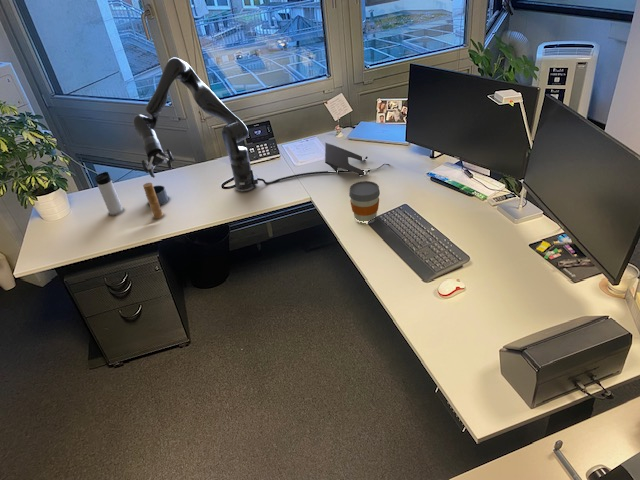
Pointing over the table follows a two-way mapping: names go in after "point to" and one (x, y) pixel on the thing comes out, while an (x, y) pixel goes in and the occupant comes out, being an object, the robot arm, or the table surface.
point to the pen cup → (161, 194)
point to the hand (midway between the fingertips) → (161, 172)
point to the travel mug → (109, 193)
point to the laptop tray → (341, 159)
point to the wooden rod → (153, 200)
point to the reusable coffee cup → (364, 200)
